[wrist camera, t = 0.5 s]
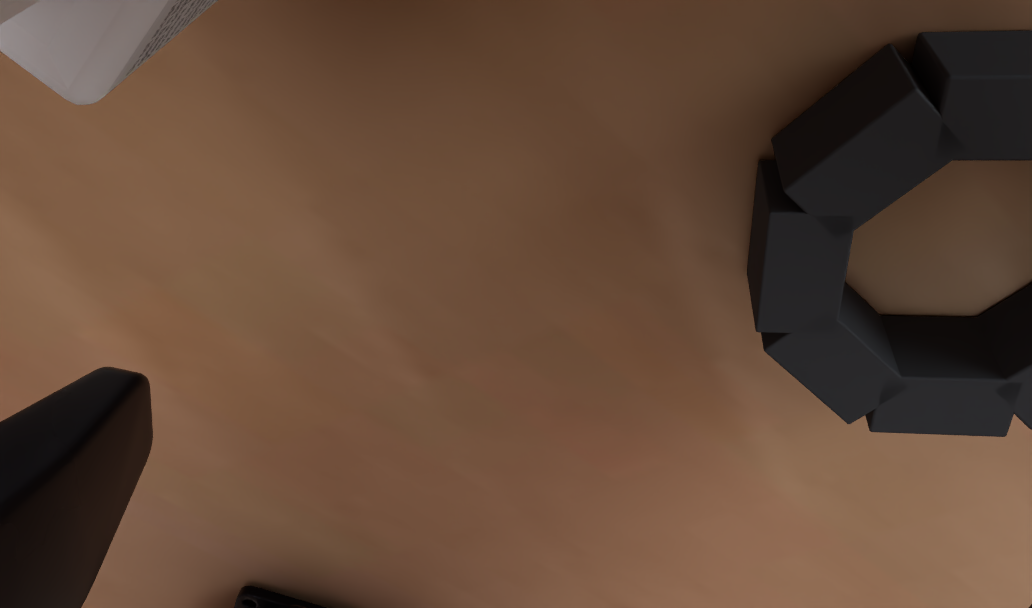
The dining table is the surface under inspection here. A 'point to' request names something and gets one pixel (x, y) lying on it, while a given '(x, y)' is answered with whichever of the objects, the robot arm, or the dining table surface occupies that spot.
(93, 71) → the container
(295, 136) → the dining table surface
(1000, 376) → the black octagonal ring
